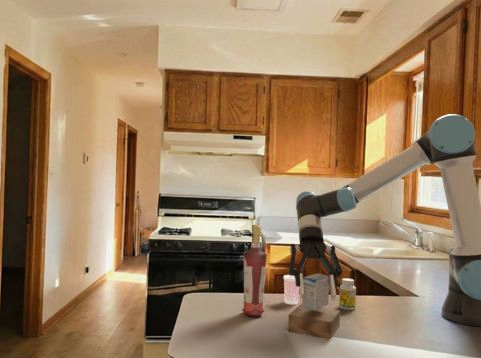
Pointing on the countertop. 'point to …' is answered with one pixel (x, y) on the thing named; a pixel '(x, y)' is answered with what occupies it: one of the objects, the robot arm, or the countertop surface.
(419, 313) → the countertop surface
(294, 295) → the beverage cup
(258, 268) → the liquor
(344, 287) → the supplement bottle
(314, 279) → the medicine box
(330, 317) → the walnut block
